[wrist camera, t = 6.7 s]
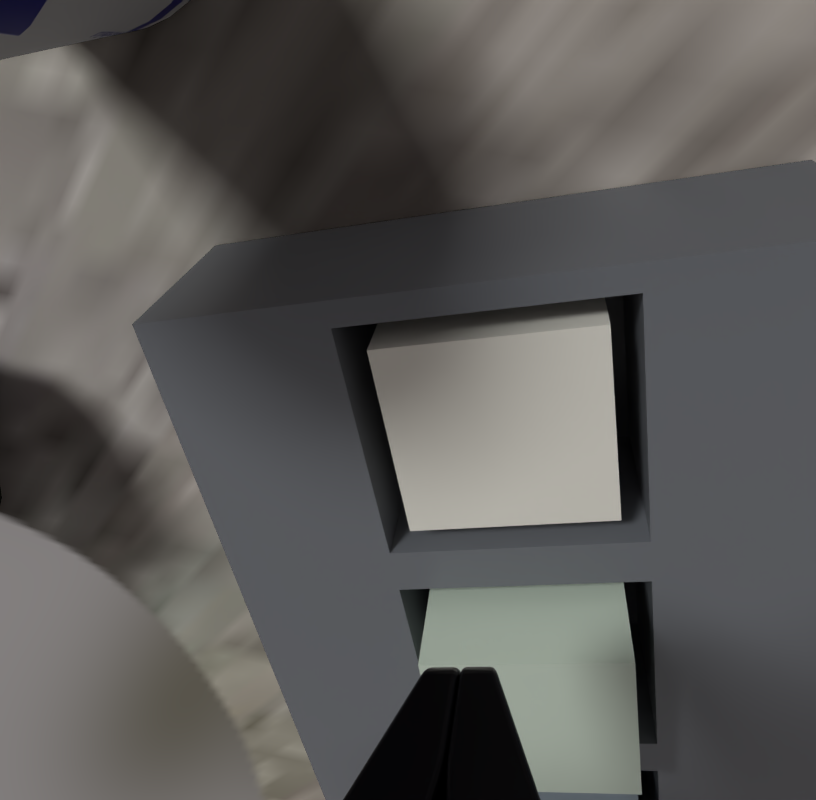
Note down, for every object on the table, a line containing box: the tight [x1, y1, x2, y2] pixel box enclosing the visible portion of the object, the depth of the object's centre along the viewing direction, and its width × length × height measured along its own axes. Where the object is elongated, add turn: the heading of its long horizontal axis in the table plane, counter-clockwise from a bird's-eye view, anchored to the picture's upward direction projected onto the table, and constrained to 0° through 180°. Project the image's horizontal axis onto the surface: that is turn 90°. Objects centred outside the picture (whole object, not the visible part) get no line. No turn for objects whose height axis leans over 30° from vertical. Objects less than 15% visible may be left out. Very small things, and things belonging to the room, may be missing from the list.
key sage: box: [418, 582, 642, 795], centre depth 16 cm, size 4×4×2 cm
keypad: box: [132, 160, 816, 800], centre depth 19 cm, size 12×24×4 cm, turn 10°
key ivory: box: [367, 297, 621, 531], centre depth 14 cm, size 4×4×2 cm
